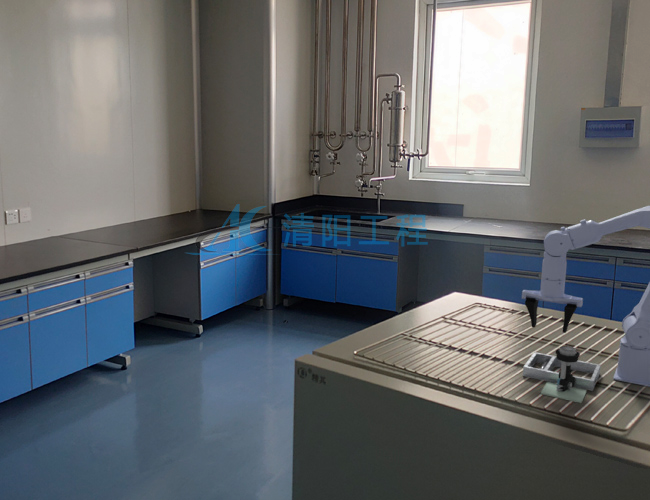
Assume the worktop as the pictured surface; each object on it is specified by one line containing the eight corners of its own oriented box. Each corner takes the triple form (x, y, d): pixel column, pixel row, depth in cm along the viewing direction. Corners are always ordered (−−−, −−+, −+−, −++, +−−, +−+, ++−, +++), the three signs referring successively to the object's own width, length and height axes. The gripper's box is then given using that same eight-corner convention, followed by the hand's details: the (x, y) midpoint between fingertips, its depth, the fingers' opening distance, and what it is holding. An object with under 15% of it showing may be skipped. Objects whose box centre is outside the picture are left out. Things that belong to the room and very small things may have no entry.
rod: (542, 364, 159) (547, 368, 159) (535, 375, 152) (540, 379, 152) (545, 360, 158) (551, 363, 158) (538, 370, 152) (544, 374, 151)
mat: (586, 391, 144) (586, 390, 143) (581, 403, 138) (581, 401, 138) (547, 383, 148) (547, 381, 148) (540, 393, 142) (540, 392, 142)
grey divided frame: (599, 374, 154) (600, 364, 153) (592, 390, 144) (593, 381, 143) (533, 360, 162) (534, 352, 161) (522, 376, 152) (523, 366, 152)
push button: (567, 396, 140) (571, 356, 138) (545, 389, 144) (549, 350, 142) (580, 388, 144) (584, 348, 142) (559, 381, 148) (562, 342, 146)
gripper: (520, 277, 154) (516, 328, 156) (581, 285, 146) (576, 338, 149) (527, 271, 159) (523, 320, 162) (586, 279, 152) (581, 330, 155)
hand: (549, 328), depth 156 cm, fingers open, 7 cm apart
